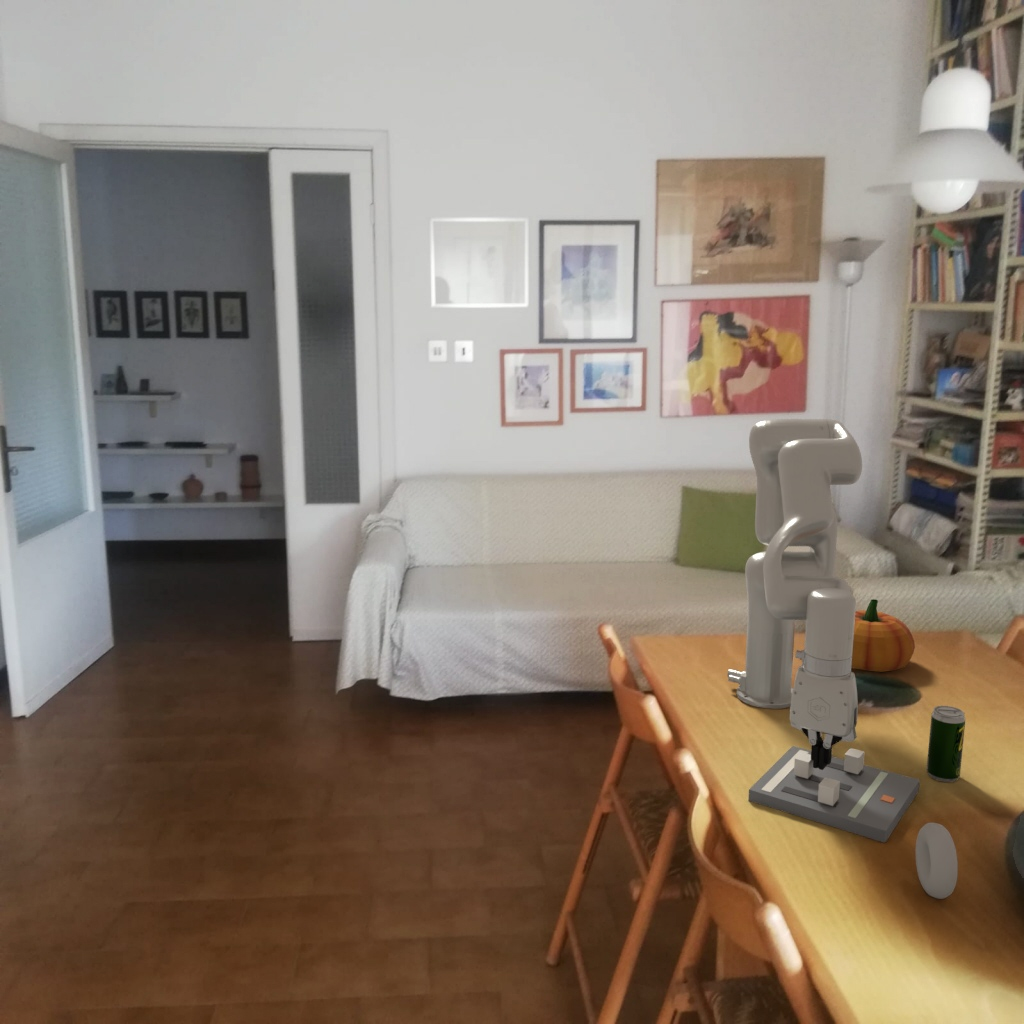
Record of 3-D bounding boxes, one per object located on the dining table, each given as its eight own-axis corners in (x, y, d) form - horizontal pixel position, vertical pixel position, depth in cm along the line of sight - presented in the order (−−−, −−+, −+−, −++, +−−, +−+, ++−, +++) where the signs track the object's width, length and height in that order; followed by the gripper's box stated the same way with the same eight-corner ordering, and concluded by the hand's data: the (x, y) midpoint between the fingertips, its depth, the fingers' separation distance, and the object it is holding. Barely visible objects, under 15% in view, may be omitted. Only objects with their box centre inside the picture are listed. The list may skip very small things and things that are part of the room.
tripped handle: (793, 774, 161) (794, 758, 160) (800, 768, 163) (801, 752, 163) (807, 778, 160) (808, 762, 159) (813, 771, 162) (814, 755, 161)
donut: (957, 915, 127) (964, 848, 125) (931, 913, 127) (937, 846, 125) (934, 872, 137) (940, 809, 135) (909, 871, 137) (915, 808, 135)
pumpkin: (820, 671, 214) (824, 608, 211) (827, 644, 231) (830, 585, 228) (913, 683, 206) (918, 617, 203) (912, 654, 224) (917, 593, 221)
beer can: (927, 780, 164) (933, 715, 161) (924, 766, 169) (930, 703, 166) (961, 785, 162) (968, 719, 159) (957, 770, 167) (963, 707, 164)
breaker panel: (748, 800, 157) (749, 770, 156) (792, 755, 173) (793, 728, 172) (885, 842, 144) (887, 810, 143) (918, 790, 160) (921, 761, 159)
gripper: (775, 660, 157) (769, 762, 161) (867, 680, 148) (859, 787, 152) (791, 647, 163) (785, 746, 167) (880, 666, 154) (872, 769, 158)
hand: (820, 765), depth 159 cm, fingers closed
